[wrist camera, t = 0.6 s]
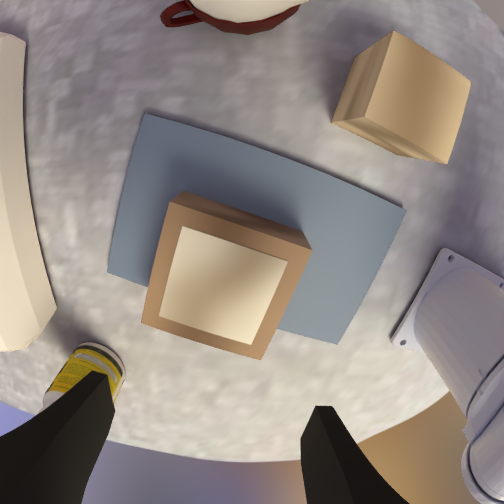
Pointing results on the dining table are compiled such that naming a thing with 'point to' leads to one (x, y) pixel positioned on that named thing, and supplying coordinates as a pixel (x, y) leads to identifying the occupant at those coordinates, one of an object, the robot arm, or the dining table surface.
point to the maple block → (403, 99)
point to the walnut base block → (223, 275)
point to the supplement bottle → (86, 371)
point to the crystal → (18, 216)
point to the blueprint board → (261, 204)
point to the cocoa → (232, 14)
